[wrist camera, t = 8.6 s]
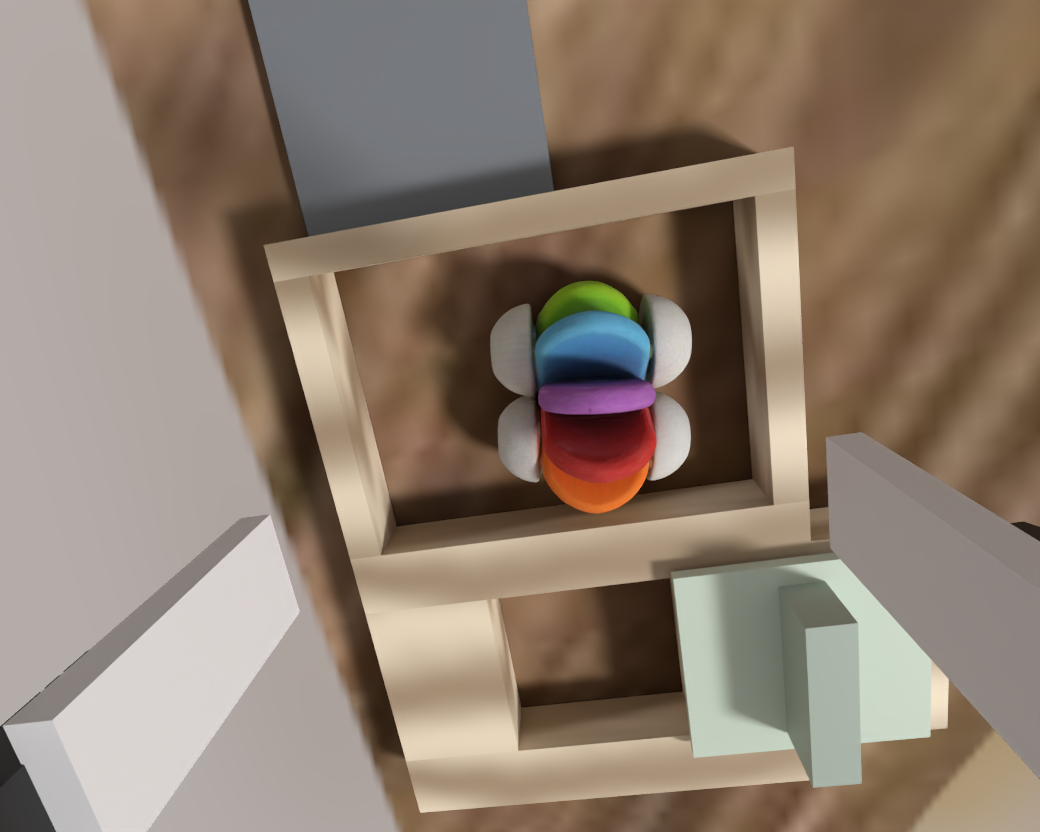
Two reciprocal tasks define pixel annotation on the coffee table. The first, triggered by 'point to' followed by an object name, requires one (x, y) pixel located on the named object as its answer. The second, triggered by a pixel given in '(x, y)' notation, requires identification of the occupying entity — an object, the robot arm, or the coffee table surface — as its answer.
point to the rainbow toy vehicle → (592, 393)
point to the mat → (404, 105)
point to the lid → (796, 664)
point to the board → (558, 511)
